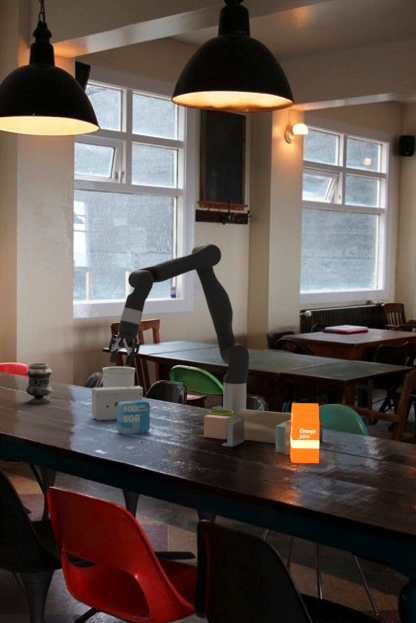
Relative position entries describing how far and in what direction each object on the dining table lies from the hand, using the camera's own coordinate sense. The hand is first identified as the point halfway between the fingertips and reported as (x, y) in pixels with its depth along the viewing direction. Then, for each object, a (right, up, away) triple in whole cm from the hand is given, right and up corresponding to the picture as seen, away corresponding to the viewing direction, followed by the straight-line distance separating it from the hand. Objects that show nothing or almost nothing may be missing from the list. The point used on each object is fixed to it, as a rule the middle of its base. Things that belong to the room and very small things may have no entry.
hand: (119, 364), depth 313 cm
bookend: (+43, -28, -12) cm, 52 cm away
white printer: (-5, -26, +42) cm, 50 cm away
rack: (+52, -29, -15) cm, 62 cm away
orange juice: (+65, -31, -36) cm, 80 cm away
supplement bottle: (+72, -29, -6) cm, 77 cm away
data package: (+4, -27, +13) cm, 31 cm away
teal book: (+60, -28, -21) cm, 69 cm away
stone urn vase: (-47, -23, +82) cm, 98 cm away
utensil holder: (-8, -24, +72) cm, 77 cm away
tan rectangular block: (+36, -28, 0) cm, 46 cm away
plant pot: (+38, -28, +12) cm, 49 cm away
